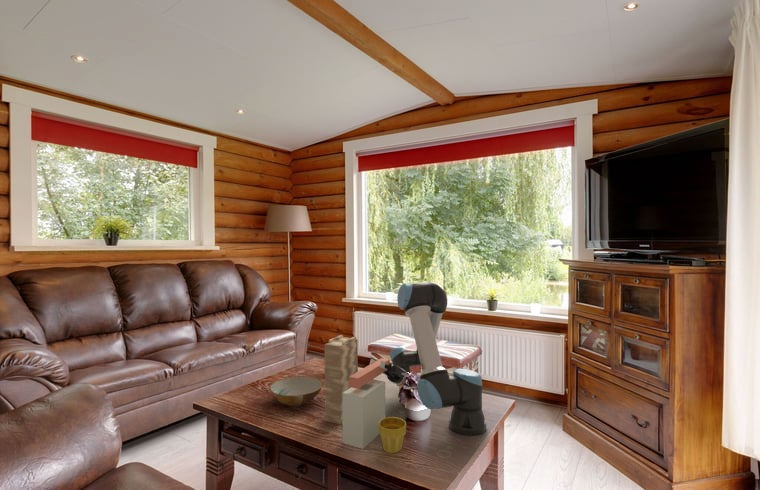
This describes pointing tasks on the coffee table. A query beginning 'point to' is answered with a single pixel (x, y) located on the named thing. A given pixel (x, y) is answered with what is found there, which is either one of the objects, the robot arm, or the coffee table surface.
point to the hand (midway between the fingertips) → (375, 362)
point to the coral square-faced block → (367, 374)
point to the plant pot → (392, 433)
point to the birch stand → (338, 374)
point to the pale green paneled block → (363, 413)
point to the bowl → (296, 390)
